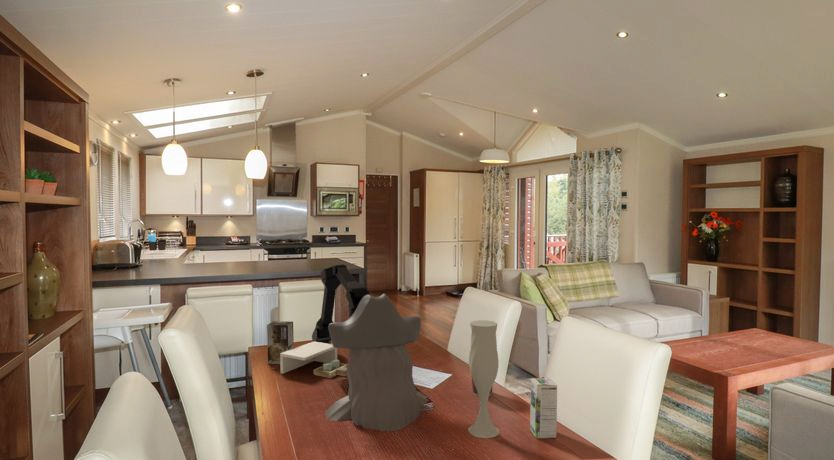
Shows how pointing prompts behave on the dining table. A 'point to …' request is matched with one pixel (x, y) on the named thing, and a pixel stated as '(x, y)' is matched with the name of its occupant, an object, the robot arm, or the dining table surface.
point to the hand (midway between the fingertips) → (358, 363)
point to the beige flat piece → (339, 371)
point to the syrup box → (543, 408)
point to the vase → (483, 373)
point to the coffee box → (279, 339)
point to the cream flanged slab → (307, 355)
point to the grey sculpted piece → (378, 367)
